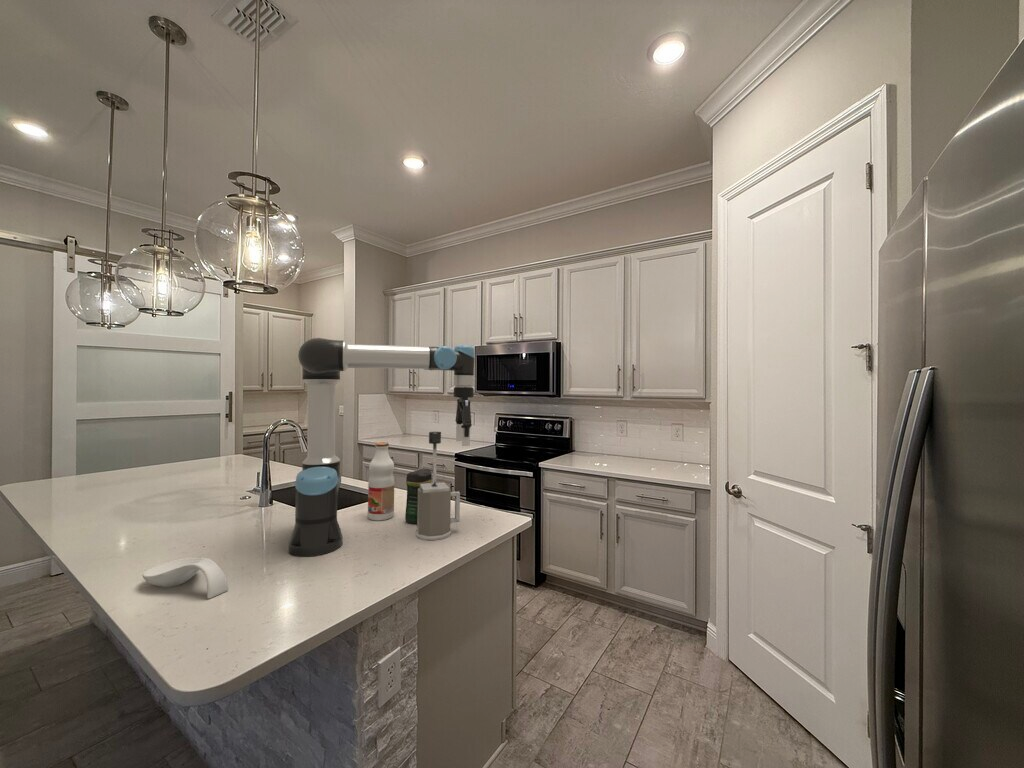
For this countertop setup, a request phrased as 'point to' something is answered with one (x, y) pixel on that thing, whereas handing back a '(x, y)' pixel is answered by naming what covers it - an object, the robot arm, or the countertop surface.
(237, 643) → the countertop surface
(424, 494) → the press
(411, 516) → the coffee jar
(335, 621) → the countertop surface
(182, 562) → the spoon rest
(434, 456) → the plunger
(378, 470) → the fruit juice
